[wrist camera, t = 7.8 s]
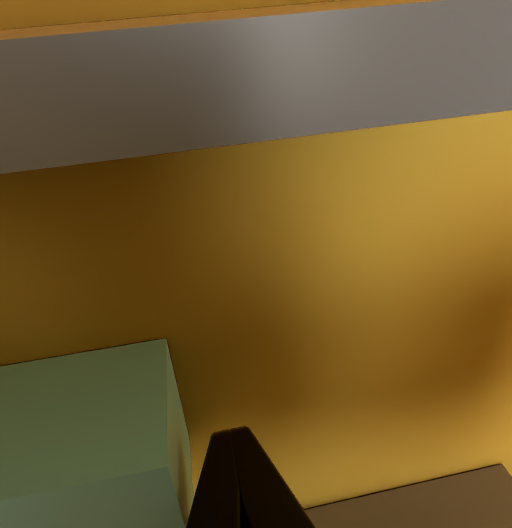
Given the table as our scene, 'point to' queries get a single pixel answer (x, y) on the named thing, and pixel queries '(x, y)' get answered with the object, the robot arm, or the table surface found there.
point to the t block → (94, 441)
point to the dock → (266, 125)
